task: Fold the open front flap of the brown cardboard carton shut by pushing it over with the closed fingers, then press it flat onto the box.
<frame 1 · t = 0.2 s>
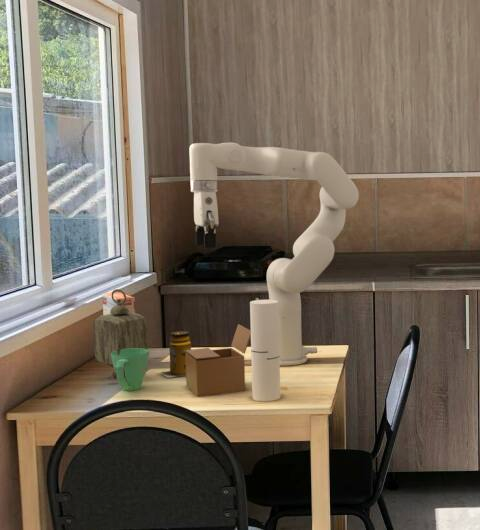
hand: (205, 246, 255), 37 cm above the table, tool pointing down, fingers open, 9 cm apart
condiment: (177, 374, 255), on the table
carton: (215, 388, 238), on the table
cylindrical container: (266, 398, 229), on the table
cracker box: (121, 363, 270), on the table
flap: (241, 338, 240), point 13 cm above the table, hinge at 110.0°
tabletop clock: (121, 376, 253), on the table
mug: (129, 391, 237), on the table
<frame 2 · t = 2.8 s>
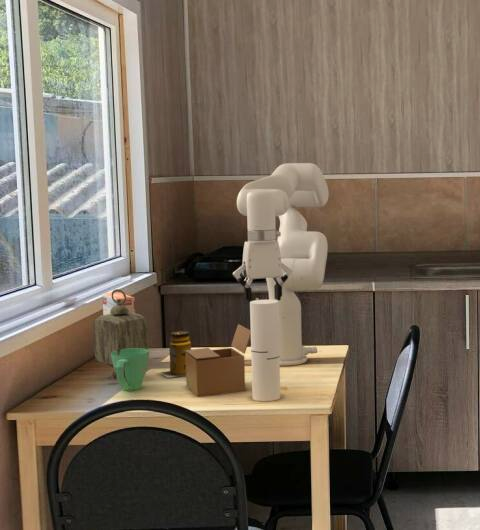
hand: (263, 300, 242), 23 cm above the table, tool pointing down, fingers open, 7 cm apart
nothing on the table moved.
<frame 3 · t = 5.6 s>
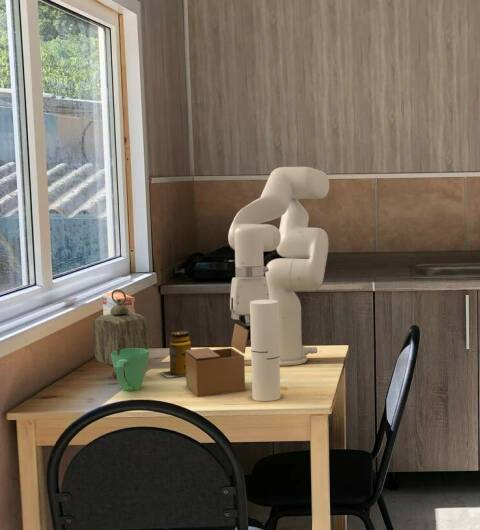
hand: (251, 339, 241), 13 cm above the table, tool pointing down, fingers closed
flap: (239, 338, 240), point 13 cm above the table, hinge at 101.3°, touching gripper
everything else where it was.
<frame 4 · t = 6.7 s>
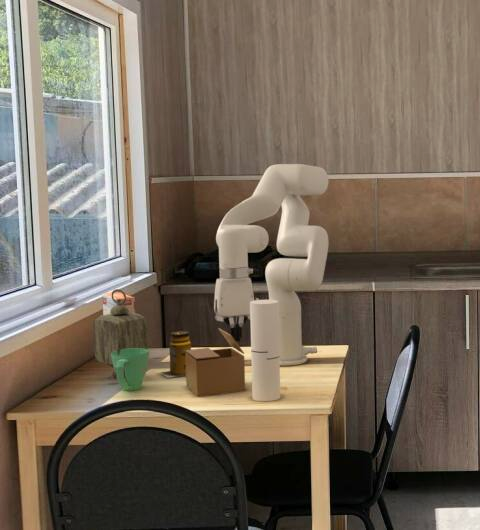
hand: (235, 340, 239), 12 cm above the table, tool pointing down, fingers closed
flap: (231, 340, 239), point 13 cm above the table, hinge at 56.5°, touching gripper
everything else where it was.
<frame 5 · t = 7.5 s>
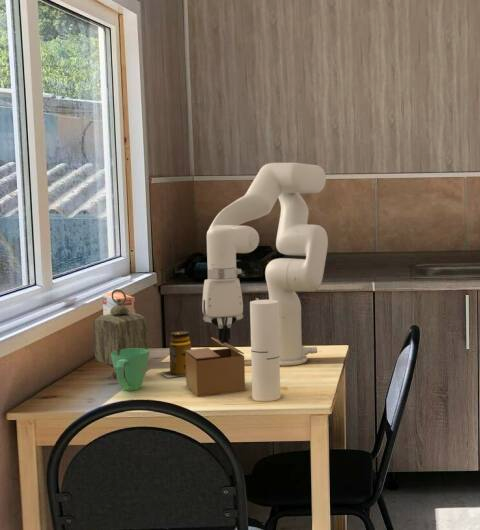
hand: (224, 341, 238), 13 cm above the table, tool pointing down, fingers closed
flap: (227, 345, 238), point 11 cm above the table, hinge at 27.4°, touching gripper
everything else where it was.
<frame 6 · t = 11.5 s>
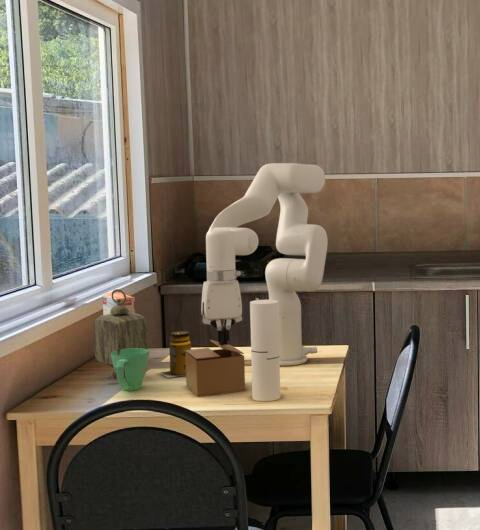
hand: (222, 344, 238), 12 cm above the table, tool pointing down, fingers closed
flap: (226, 346, 238), point 11 cm above the table, hinge at 20.6°, touching gripper
everything else where it was.
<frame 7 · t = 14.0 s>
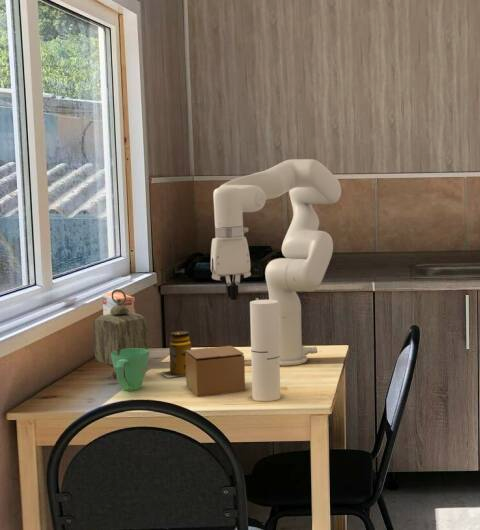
hand: (232, 299, 243), 23 cm above the table, tool pointing down, fingers closed
flap: (226, 351, 238), point 10 cm above the table, hinge at -0.6°
everything else where it was.
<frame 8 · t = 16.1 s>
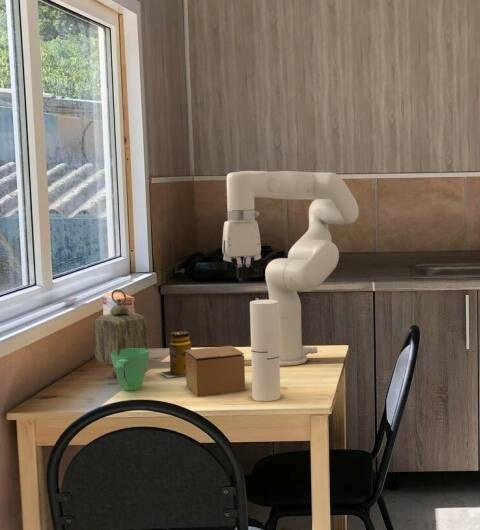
hand: (242, 280, 251), 27 cm above the table, tool pointing down, fingers closed
nothing on the table moved.
at the end: flap at -1° (first picture: +110°) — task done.
